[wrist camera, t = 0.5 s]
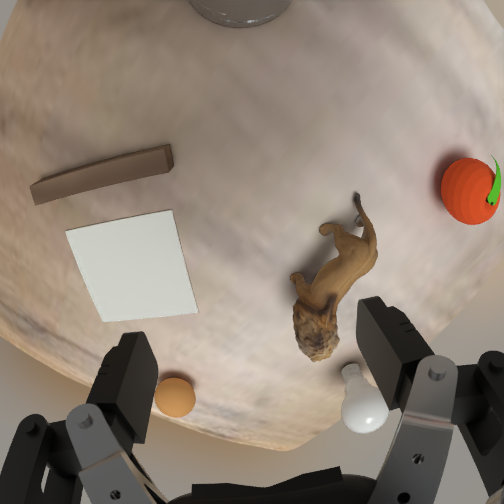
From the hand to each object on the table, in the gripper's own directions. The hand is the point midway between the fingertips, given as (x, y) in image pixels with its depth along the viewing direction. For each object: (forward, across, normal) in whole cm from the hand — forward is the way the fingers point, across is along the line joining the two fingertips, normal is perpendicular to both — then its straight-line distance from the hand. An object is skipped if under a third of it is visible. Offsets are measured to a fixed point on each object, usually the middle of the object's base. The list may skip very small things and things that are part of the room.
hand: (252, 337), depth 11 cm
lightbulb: (+21, -12, +26) cm, 35 cm away
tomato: (+19, -24, 0) cm, 31 cm away
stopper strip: (+18, +12, -5) cm, 23 cm away
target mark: (+19, +12, +6) cm, 23 cm away
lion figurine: (+20, -8, +8) cm, 23 cm away
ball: (+18, +12, +24) cm, 32 cm away
